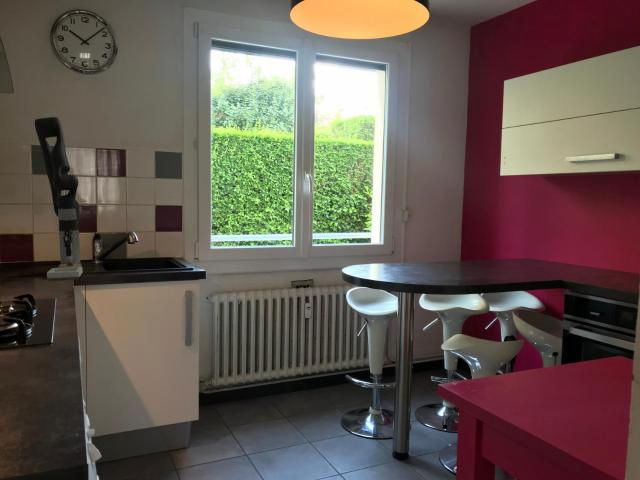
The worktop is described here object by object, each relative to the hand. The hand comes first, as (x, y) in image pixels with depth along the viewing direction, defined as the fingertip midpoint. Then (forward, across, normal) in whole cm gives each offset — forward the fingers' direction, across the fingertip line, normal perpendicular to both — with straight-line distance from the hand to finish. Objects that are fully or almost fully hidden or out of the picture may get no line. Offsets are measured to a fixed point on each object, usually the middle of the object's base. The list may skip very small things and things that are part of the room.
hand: (69, 255), depth 243 cm
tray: (+8, +12, 0) cm, 15 cm away
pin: (+4, 0, 0) cm, 4 cm away
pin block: (+8, 0, 0) cm, 8 cm away
